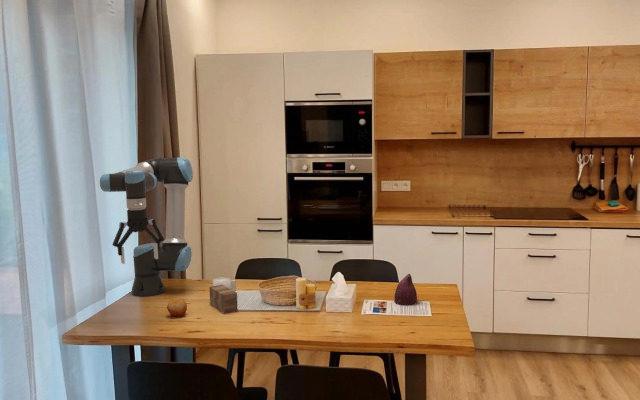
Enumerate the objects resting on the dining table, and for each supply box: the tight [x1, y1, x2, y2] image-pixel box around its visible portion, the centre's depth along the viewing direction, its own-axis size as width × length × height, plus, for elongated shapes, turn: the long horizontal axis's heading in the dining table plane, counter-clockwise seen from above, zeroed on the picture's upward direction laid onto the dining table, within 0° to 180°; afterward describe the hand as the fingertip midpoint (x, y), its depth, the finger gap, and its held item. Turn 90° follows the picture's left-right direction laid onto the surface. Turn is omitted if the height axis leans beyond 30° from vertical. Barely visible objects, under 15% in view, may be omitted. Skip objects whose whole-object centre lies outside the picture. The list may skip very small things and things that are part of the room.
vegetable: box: [393, 273, 418, 306], centre depth 256 cm, size 10×10×15 cm
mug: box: [212, 276, 237, 292], centre depth 269 cm, size 8×11×9 cm
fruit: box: [166, 297, 188, 318], centre depth 246 cm, size 8×8×8 cm
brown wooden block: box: [209, 285, 239, 314], centre depth 254 cm, size 16×6×8 cm, turn 32°
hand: (139, 260), depth 238 cm, fingers open, 13 cm apart
